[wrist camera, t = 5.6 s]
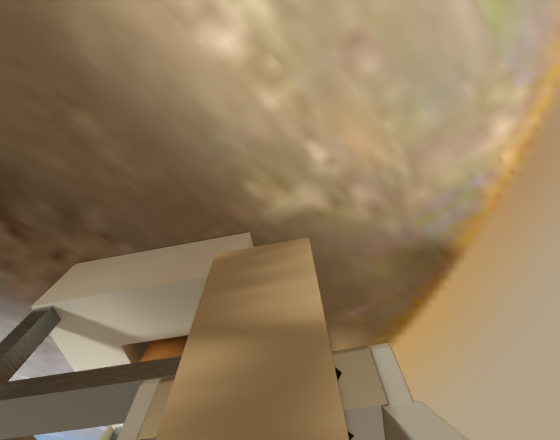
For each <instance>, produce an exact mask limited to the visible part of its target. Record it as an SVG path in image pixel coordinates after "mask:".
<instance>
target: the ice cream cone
mask: <svg viewBox="0 0 560 440" xmlns="http://www.w3.org/2000/svg"><path fill="white" fill-rule="evenodd" d="M113 431H114V429H113V428H112V426H111V425H110V426H109V427H108V428H107V429H106V431H105V432H104V433H103V434H102V436H101V437H100V438H99V439H98V440H110V438H111V435H112V433H113Z"/></svg>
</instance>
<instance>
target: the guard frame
mask: <svg viewBox="0 0 560 440" xmlns="http://www.w3.org/2000/svg"><path fill="white" fill-rule="evenodd" d="M60 321H61V318H60V317H59V315H58V314H57V312H56V311H55V309H54V307H53V306H47V307H41V308H35V309H34V310H33V311H32V312H31V313H30V314H29V315H28V316H27V317H26V318H25V319H24V320H23V321H22V322H21V323H20V324H19V325H18V326H17V327H16V328H15V329H14V330H13V331H12V332H11V333H10V334H9V335H8V336H7V337H6V338H5V339H4V340H3V341H2V342H1V343H0V440H36V438H35V437H34V436H33V435H39V434H46V433H54V432H61V431H69V430H77V429H84V428H92V427H99V426H107V425H114V424H122V423H124V422H125V420H126V417H127V415H128V412H129V410H130V408H131V405H132V403H133V401H134V398H135V396H136V394H137V391H138V389H139V387H140V385H141V384H142V383H143V382H144V381H145V380H152V379H159V378H166V377H174V376H176V373H177V370H178V367H179V364H180V360H181V357H182V356H177V357H170V358H164V359H157V360H150V361H144V362H137V363H130V364H124V365H117V366H110V367H103V368H97V369H90V370H83V371H77V372H70V373H63V374H57V375H50V376H43V377H37V378H30V379H23V380H16V381H10V382H8V381H9V379H10V378H11V377H12V376H13V375H14V374H15V373H16V371H17V370H18V369H19V368H20V367H21V366H22V364H23V363H24V362H25V361H26V360H27V359H28V358H29V356H30V355H31V354H32V353H33V352H34V351H35V350H36V348H37V347H38V346H39V345H40V344H41V343H42V342H43V340H44V339H45V338H46V337H47V336H48V335H49V333H50V332H51V331H52V330H53V329H54V328H55V327H56V325H57V324H58V323H59V322H60ZM121 429H122V427H116V428H115V429H114V431H113V433H112V435H111V438H110V440H117V438H118V436H119V434H120V431H121Z"/></svg>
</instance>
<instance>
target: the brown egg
mask: <svg viewBox="0 0 560 440" xmlns="http://www.w3.org/2000/svg"><path fill="white" fill-rule="evenodd" d="M188 336H189V335H185V336H178V337H172V338H165V339H159V340H153V341H149V343H148V345H147V347H146V349H145V351H144V354H143V356H142V358H141V360H140V362H144V361H150V360H157V359H164V358H170V357H177V356H182V354H183V351H184V348H185V345H186V342H187V339H188Z"/></svg>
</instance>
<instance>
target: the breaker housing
mask: <svg viewBox="0 0 560 440" xmlns="http://www.w3.org/2000/svg"><path fill="white" fill-rule="evenodd" d="M250 247H254V245H253V241H252V238H251V234H250V232H247V233H242V234H236V235H231V236H225V237H220V238H214V239H209V240H203V241H198V242H192V243H187V244H181V245H176V246H170V247H165V248H159V249H154V250H148V251H143V252H137V253H132V254H126V255H121V256H115V257H110V258H104V259H99V260H93V261H88V262H82V263H77V264H75V265H74V266H73V267H72V268H71V269H70V270H69V271H67V272H66V273H65V274H64V275H63V276H62V277H61V278H60V279H59V280H58V281H57V282H56V283H55V284H54V285H53V286H52V287H51V288H50V289H49V290H48V291H47V292H45V293H44V294H43V295H42V296H41V297H40V298H39V299H38V300H37V301H36V302H35V303H34V304H33V305H32V306H31V308H32V309H33V310H34V309H35V308H41V307H47V306H53V307H54V309H55V311H56V312H57V314H58V315H59V317H60V318H61V321H60V322H59V323H58V324H57V325H56V327H55V328H54V329H53V330H52V331H51V332H50V333H49V334H50V336H51V337H52V339H53V340H54V342H55V343H56V345H57V346H58V348H59V349H60V351H61V352H62V354H63V355H64V357H65V358H66V359H67V361H68V362H69V364H70V365H71V367H72V368H73V370H74V371H75V372H77V371H83V370H90V369H97V368H103V367H110V366H117V365H124V364H130V363H137V362H140V360H141V358H142V356H143V354H144V351H145V349H146V347H147V345H148V343H149V341H153V340H159V339H165V338H172V337H178V336H185V335H189V332H190V329H191V326H192V323H193V320H194V317H195V314H196V311H197V308H198V304H199V301H200V298H201V295H202V292H203V289H204V286H205V283H206V280H207V276H208V273H209V270H210V267H211V264H212V261H213V258H214V255H215V254H217V253H223V252H228V251H234V250H239V249H245V248H250ZM123 424H124V423H122V424H114V425H111V426H112V428H113V429H115V428H116V427H123Z"/></svg>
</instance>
